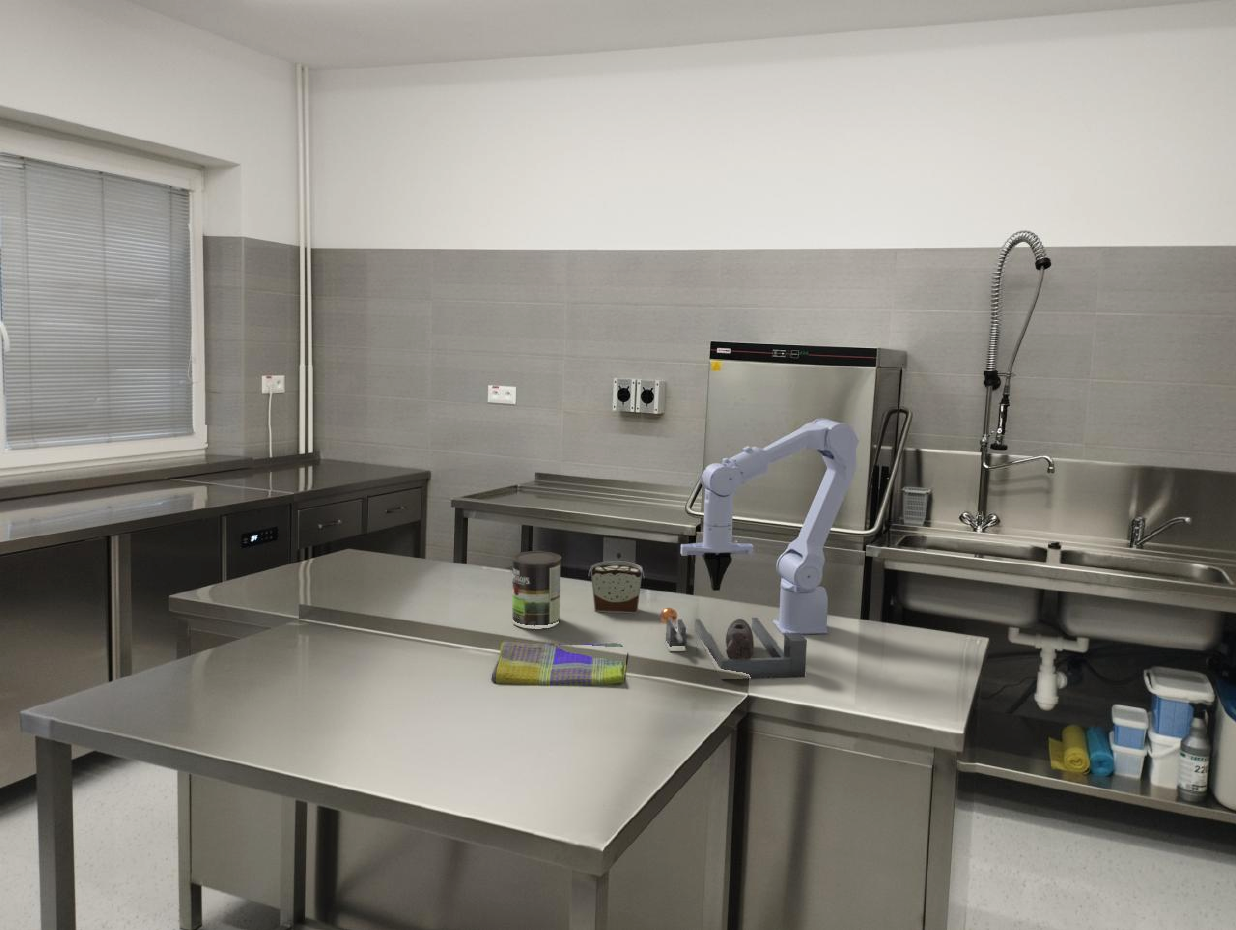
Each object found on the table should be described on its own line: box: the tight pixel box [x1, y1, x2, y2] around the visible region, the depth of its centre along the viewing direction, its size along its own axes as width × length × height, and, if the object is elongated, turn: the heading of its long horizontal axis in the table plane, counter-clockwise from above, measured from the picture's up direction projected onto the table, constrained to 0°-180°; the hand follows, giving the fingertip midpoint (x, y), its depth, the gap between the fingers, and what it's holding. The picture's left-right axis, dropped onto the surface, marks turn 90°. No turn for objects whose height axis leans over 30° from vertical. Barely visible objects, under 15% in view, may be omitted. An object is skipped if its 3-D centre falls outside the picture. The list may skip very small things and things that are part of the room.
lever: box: [660, 607, 683, 643], centre depth 188 cm, size 3×16×3 cm, turn 6°
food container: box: [587, 560, 646, 614], centre depth 209 cm, size 12×6×10 cm, turn 84°
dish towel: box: [490, 641, 627, 686], centre depth 175 cm, size 18×24×3 cm
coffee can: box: [511, 550, 562, 626], centre depth 199 cm, size 10×10×14 cm
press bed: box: [665, 617, 808, 680], centre depth 183 cm, size 23×26×7 cm
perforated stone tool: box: [725, 618, 755, 659], centre depth 182 cm, size 15×5×7 cm, turn 172°
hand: (715, 589), depth 192 cm, fingers closed
